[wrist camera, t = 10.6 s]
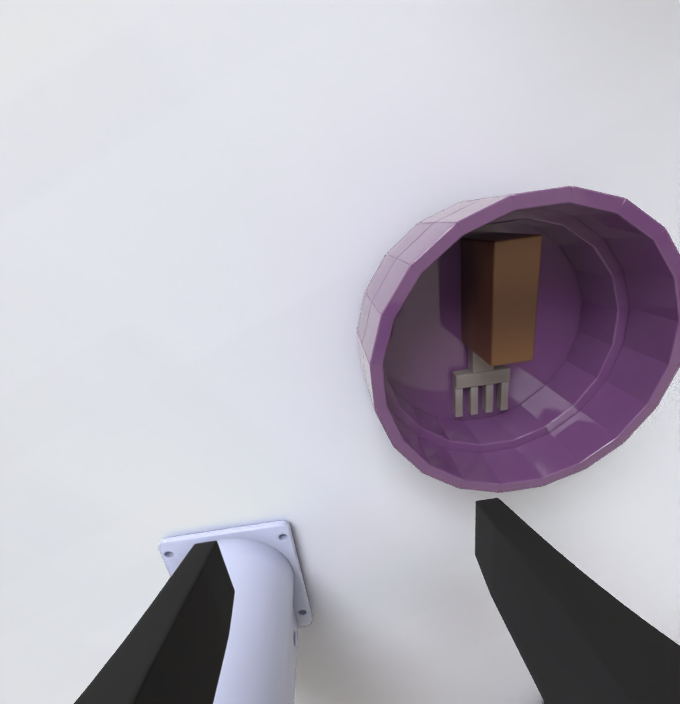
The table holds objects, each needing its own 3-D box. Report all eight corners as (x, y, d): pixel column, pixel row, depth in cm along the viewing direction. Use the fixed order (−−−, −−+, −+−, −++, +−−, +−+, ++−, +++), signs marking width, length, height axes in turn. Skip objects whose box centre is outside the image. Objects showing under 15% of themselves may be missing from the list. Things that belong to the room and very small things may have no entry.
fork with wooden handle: (449, 239, 15) (480, 243, 12) (510, 230, 15) (557, 232, 12) (452, 413, 19) (478, 449, 16) (503, 405, 19) (538, 440, 16)
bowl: (575, 411, 20) (656, 469, 15) (369, 442, 20) (385, 510, 15) (606, 181, 15) (731, 162, 11) (342, 218, 15) (352, 216, 11)
